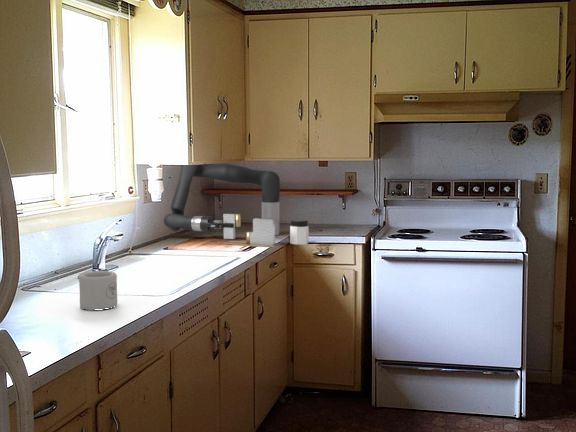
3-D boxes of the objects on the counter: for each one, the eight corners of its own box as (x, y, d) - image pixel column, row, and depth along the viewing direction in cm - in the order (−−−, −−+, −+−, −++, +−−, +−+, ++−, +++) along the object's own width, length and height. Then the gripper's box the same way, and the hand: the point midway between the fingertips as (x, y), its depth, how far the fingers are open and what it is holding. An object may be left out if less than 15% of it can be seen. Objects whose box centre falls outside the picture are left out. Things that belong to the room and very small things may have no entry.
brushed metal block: (223, 238, 337) (223, 214, 336) (225, 237, 339) (225, 213, 338) (239, 239, 334) (239, 214, 333) (241, 238, 337) (241, 214, 335)
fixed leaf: (247, 243, 324) (247, 217, 322) (275, 244, 319) (275, 219, 318) (245, 244, 321) (245, 218, 320) (273, 245, 317) (273, 219, 315)
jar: (286, 245, 326) (286, 220, 325) (298, 243, 331) (299, 218, 330) (299, 247, 319) (299, 221, 318) (312, 245, 325) (312, 220, 324)
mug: (102, 312, 198) (101, 278, 197) (72, 309, 202) (71, 275, 201) (129, 302, 211) (129, 270, 210) (100, 299, 215) (99, 267, 214)
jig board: (230, 243, 332) (230, 240, 332) (281, 246, 323) (281, 243, 323) (220, 246, 320) (220, 244, 320) (272, 250, 312) (272, 247, 312)
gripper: (196, 217, 334) (228, 219, 329) (208, 214, 347) (240, 215, 342) (196, 233, 335) (228, 234, 330) (208, 229, 348) (240, 230, 343)
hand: (234, 225), depth 336 cm, fingers closed on brushed metal block, 2 cm apart
